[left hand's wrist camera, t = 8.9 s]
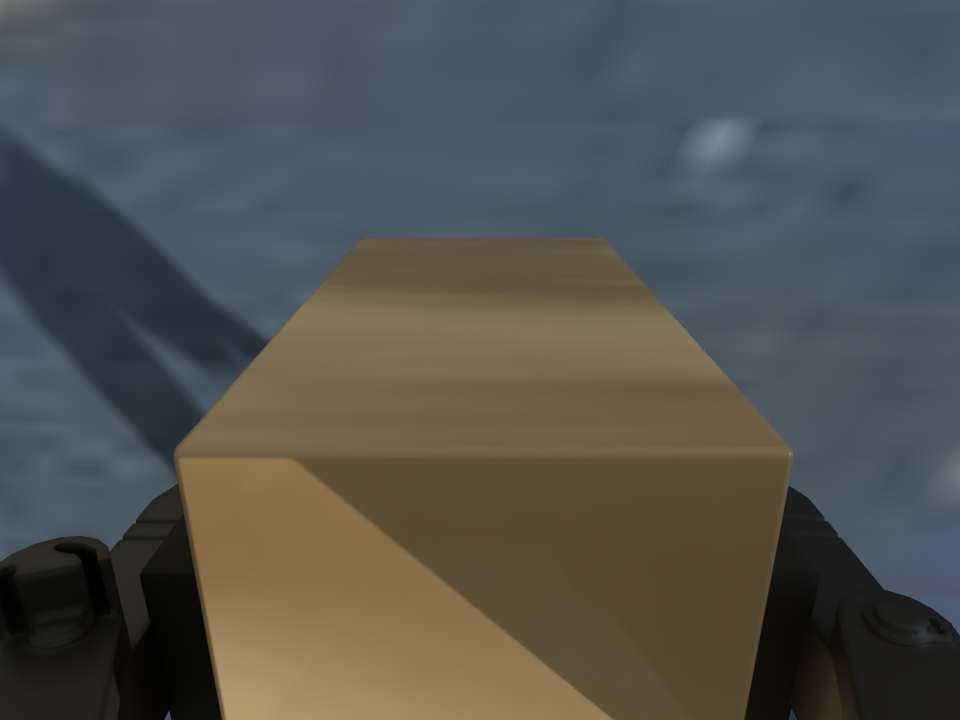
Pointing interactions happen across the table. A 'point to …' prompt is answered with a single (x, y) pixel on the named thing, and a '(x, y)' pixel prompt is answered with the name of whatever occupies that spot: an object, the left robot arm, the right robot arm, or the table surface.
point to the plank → (483, 498)
